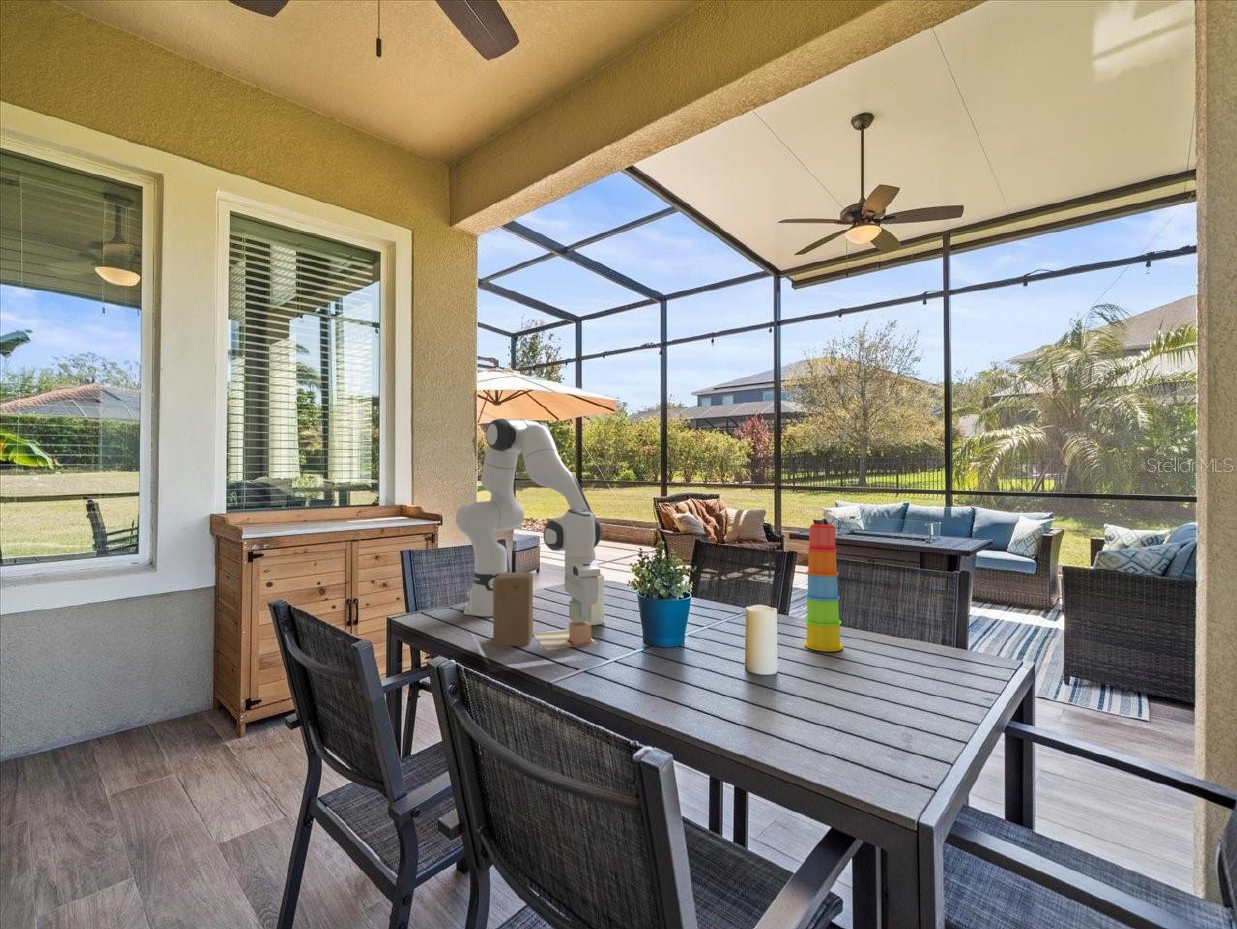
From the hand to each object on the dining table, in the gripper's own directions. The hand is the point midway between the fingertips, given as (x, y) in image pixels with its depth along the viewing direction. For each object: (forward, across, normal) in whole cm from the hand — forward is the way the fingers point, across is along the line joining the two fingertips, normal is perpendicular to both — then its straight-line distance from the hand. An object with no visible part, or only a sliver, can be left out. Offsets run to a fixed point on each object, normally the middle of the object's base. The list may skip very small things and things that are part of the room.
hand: (580, 613), depth 167 cm
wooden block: (+9, -8, -18) cm, 21 cm away
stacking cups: (+9, +28, +63) cm, 70 cm away
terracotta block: (+8, 0, 0) cm, 8 cm away
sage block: (+2, 0, 0) cm, 2 cm away
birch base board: (+9, -4, -4) cm, 11 cm away
